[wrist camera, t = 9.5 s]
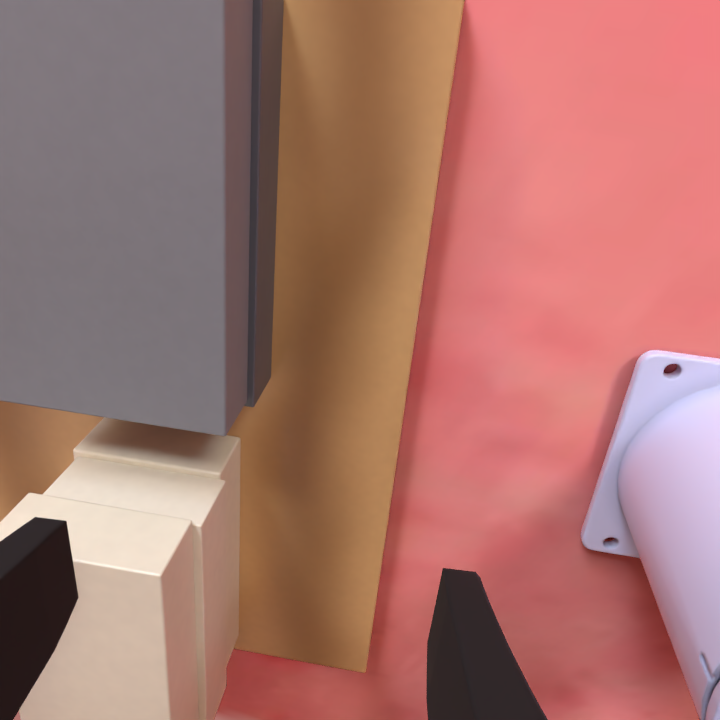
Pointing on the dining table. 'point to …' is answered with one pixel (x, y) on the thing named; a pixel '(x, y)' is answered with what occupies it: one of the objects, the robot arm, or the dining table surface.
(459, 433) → the dining table surface
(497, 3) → the dining table surface
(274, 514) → the shelf board
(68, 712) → the cream book
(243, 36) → the grey stack
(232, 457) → the cream stack
